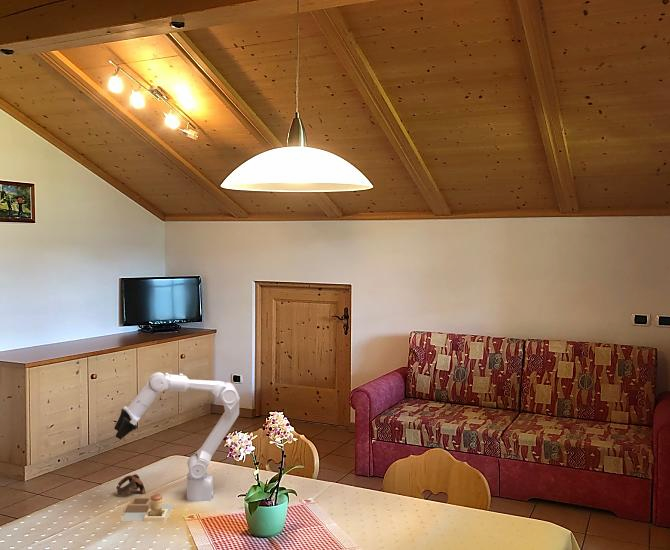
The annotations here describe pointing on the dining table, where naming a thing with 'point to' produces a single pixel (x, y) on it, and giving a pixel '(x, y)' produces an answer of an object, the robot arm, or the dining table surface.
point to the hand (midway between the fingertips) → (117, 433)
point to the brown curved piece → (130, 485)
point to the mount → (145, 510)
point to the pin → (156, 505)
